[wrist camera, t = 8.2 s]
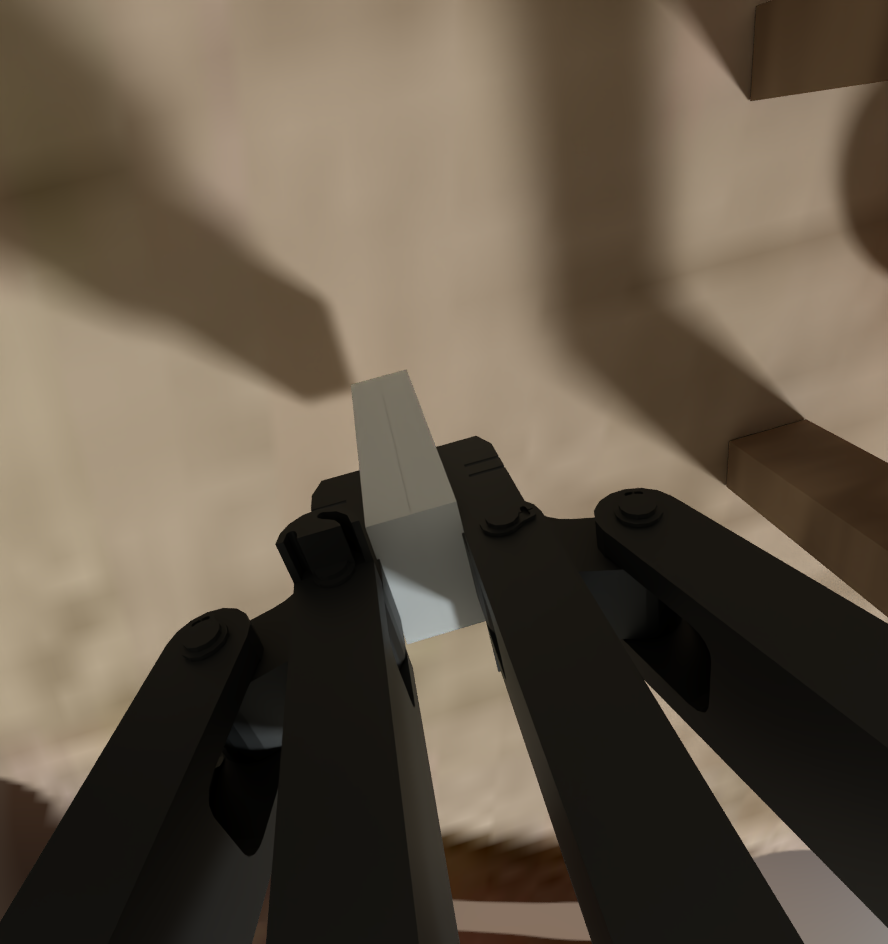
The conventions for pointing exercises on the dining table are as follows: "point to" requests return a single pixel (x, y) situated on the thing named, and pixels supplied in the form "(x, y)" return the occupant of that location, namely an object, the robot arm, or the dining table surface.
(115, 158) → the dining table surface
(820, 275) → the dining table surface
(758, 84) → the bridge
